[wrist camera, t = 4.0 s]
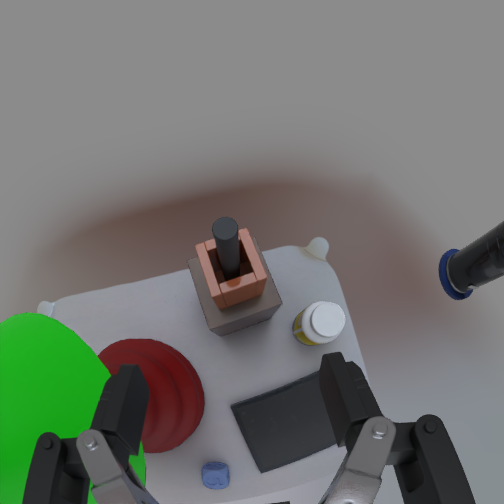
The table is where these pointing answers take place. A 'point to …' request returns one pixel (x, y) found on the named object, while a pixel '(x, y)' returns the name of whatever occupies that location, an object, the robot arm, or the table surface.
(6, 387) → the table lamp
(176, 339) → the table surface
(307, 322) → the pill bottle
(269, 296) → the stand
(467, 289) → the robot arm
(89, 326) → the table surface
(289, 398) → the tablet
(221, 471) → the decorative dice
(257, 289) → the pen cup
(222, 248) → the stylus
